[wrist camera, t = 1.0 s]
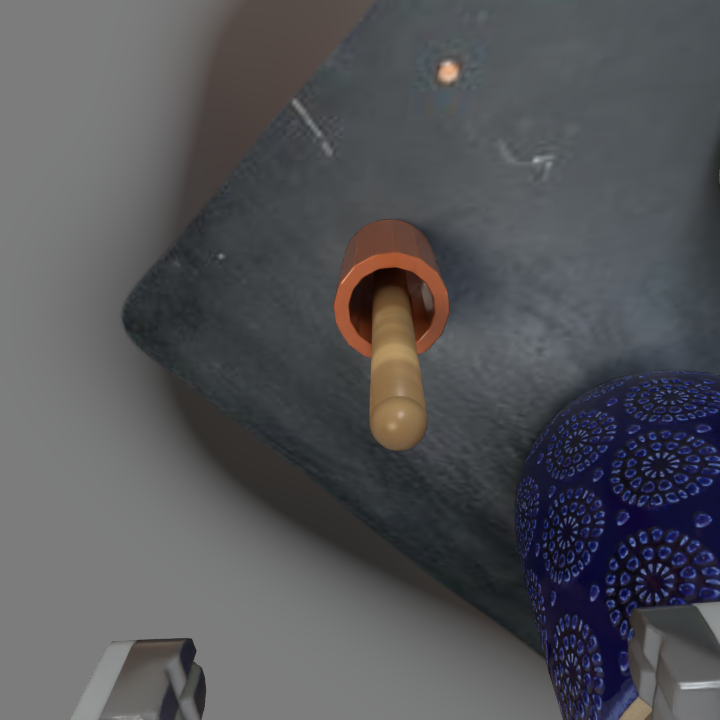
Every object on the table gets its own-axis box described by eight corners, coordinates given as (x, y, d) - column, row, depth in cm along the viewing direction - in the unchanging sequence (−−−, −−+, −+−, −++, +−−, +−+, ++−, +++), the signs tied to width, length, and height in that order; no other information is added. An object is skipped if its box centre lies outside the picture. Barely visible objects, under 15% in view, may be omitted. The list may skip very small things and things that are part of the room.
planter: (611, 602, 46) (774, 957, 27) (436, 468, 41) (485, 784, 22) (829, 449, 40) (1235, 770, 21) (652, 273, 35) (966, 480, 16)
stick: (372, 254, 35) (365, 412, 17) (403, 250, 34) (427, 407, 17) (375, 284, 35) (372, 464, 18) (405, 280, 35) (431, 459, 18)
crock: (337, 224, 35) (326, 259, 27) (431, 214, 34) (445, 246, 27) (349, 312, 37) (342, 366, 29) (437, 303, 36) (452, 355, 29)
